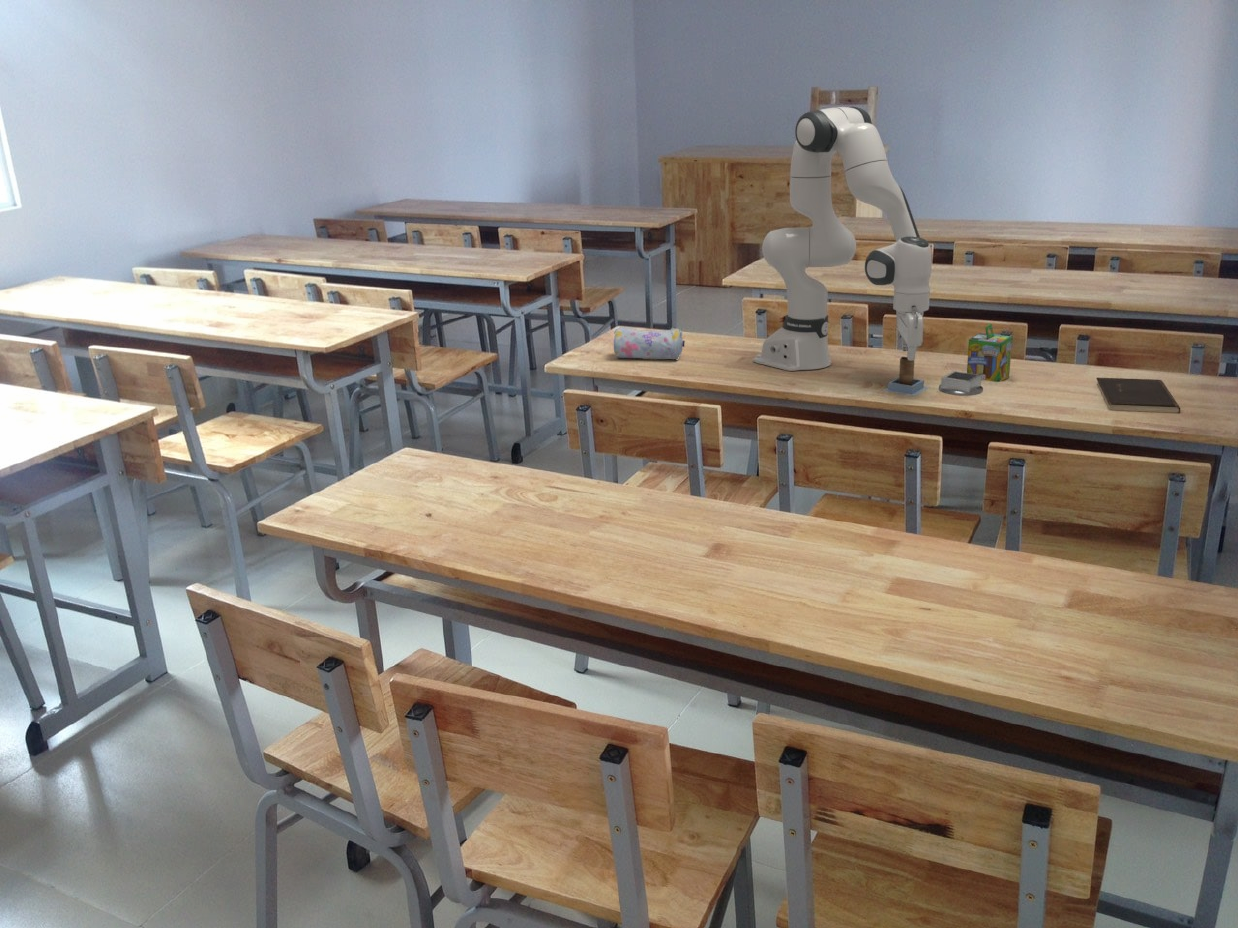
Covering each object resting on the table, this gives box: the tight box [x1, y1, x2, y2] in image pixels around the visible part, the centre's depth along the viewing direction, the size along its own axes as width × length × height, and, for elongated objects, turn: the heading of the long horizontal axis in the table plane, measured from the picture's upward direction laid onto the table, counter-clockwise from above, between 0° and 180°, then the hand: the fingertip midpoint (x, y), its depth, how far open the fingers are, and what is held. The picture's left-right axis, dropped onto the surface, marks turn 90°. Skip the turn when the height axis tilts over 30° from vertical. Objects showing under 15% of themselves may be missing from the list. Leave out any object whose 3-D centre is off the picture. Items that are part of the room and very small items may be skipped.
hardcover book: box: [1096, 377, 1181, 414], centre depth 272 cm, size 16×23×2 cm
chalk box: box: [966, 323, 1013, 383], centre depth 290 cm, size 9×9×15 cm
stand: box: [882, 376, 930, 397], centre depth 283 cm, size 9×9×3 cm
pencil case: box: [613, 326, 685, 360], centre depth 324 cm, size 21×9×10 cm, turn 77°
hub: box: [938, 370, 984, 397], centre depth 281 cm, size 11×11×4 cm
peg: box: [898, 356, 915, 386], centre depth 282 cm, size 4×4×8 cm
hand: (908, 355), depth 280 cm, fingers open, 8 cm apart
